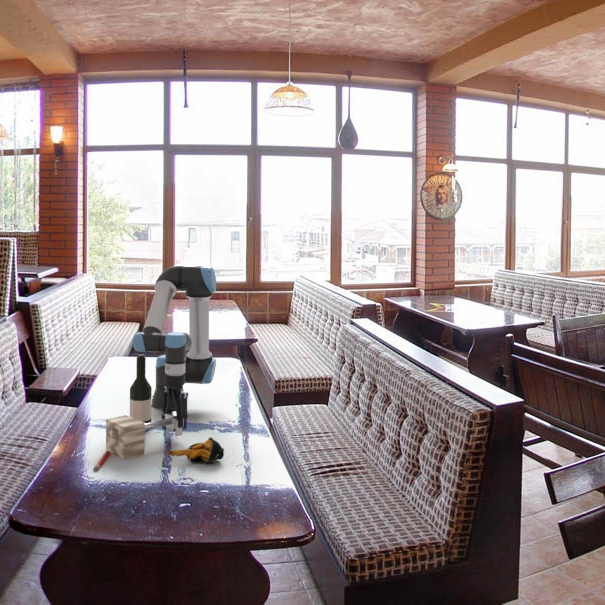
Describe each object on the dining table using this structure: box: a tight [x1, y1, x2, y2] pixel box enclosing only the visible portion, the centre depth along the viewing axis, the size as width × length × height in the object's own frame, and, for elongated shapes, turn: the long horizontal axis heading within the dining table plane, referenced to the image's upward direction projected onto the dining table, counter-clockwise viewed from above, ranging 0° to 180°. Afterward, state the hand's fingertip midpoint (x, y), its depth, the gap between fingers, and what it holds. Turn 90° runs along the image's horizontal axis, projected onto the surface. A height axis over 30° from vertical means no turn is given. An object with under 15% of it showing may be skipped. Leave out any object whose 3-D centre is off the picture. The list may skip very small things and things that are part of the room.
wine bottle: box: [129, 353, 153, 432], centre depth 246 cm, size 8×8×30 cm
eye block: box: [105, 414, 146, 461], centre depth 220 cm, size 12×9×12 cm
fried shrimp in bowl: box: [166, 437, 225, 464], centre depth 213 cm, size 9×11×18 cm
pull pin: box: [145, 410, 185, 432], centre depth 228 cm, size 5×26×5 cm, turn 138°
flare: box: [93, 451, 111, 472], centre depth 211 cm, size 2×15×2 cm, turn 3°
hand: (174, 433), depth 237 cm, fingers closed on pull pin, 5 cm apart
